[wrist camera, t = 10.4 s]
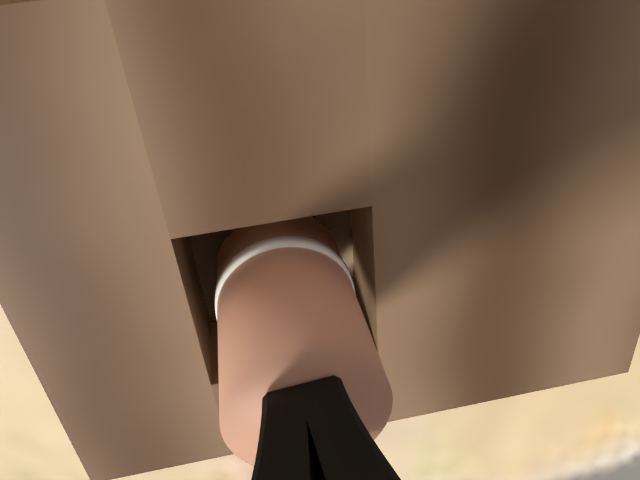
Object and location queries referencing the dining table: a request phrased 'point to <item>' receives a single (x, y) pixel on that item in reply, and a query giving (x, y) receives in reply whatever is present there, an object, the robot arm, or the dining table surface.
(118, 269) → the board
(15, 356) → the dining table surface
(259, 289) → the peg
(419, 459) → the dining table surface
